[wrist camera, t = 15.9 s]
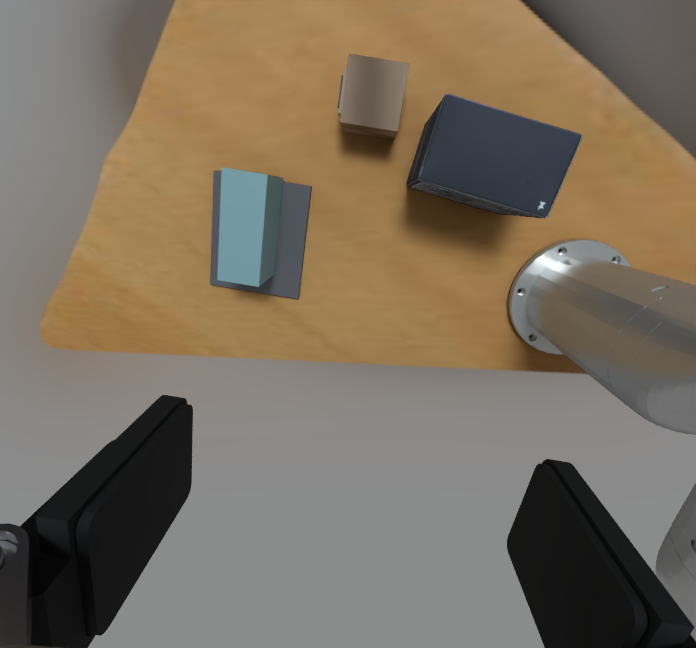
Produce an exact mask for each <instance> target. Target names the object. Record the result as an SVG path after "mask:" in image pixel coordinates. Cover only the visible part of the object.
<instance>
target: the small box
mask: <svg viewBox="0 0 696 648" xmlns="http://www.w3.org/2000/svg"><path fill="white" fill-rule="evenodd" d="M581 140H582V135H581V134H579V133H575V132H572V131H569V130H565V129H562V128H559V127H555V126H552V125H549V124H545V123H542V122H539V121H535V120H532V119H529V118H525V117H522V116H519V115H516V114H512V113H509V112H506V111H503V110H499V109H496V108H493V107H490V106H486V105H483V104H480V103H477V102H473V101H470V100H467V99H464V98H461V97H458V96H454V95H451V94H445V96H444V97H443V99H442V101H441V102H440V104H439V105H438V106H437V108H436V110H435V111H434V112H433V114H432V115H431V117H430V118H429V120H428V121H427V122H426V124H425V126H424V130H423V133H422V136H421V138H420V142H419V145H418V148H417V151H416V154H415V158H414V161H413V164H412V167H411V170H410V174H409V177H408V180H407V186H408V187H410V188H414V189H417V190H420V191H423V192H427V193H430V194H433V195H436V196H438V197H443V198H446V199H449V200H453V201H456V202H459V203H462V204H464V205H468V206H473V207H476V208H478V209H482V210H486V211H490V212H493V213H497V214H500V215H518V216H525V217H536V218H547V217H548V216H549V214H550V211H551V209H552V207H553V204H554V202H555V199H556V197H557V195H558V193H559V190H560V188H561V186H562V183H563V181H564V179H565V176H566V174H567V172H568V169H569V167H570V165H571V163H572V160H573V158H574V156H575V154H576V151H577V149H578V146H579V144H580V142H581Z"/></svg>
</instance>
